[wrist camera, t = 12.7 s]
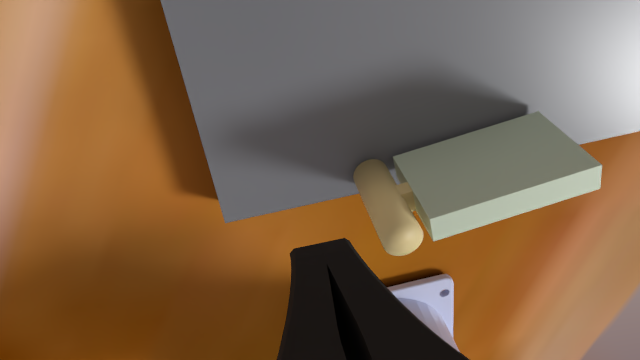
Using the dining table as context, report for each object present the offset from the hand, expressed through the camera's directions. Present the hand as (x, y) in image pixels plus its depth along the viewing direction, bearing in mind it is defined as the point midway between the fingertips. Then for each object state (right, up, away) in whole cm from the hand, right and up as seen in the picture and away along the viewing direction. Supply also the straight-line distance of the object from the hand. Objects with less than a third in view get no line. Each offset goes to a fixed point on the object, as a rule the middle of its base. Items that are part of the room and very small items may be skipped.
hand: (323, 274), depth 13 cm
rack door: (+5, +3, +9) cm, 11 cm away
